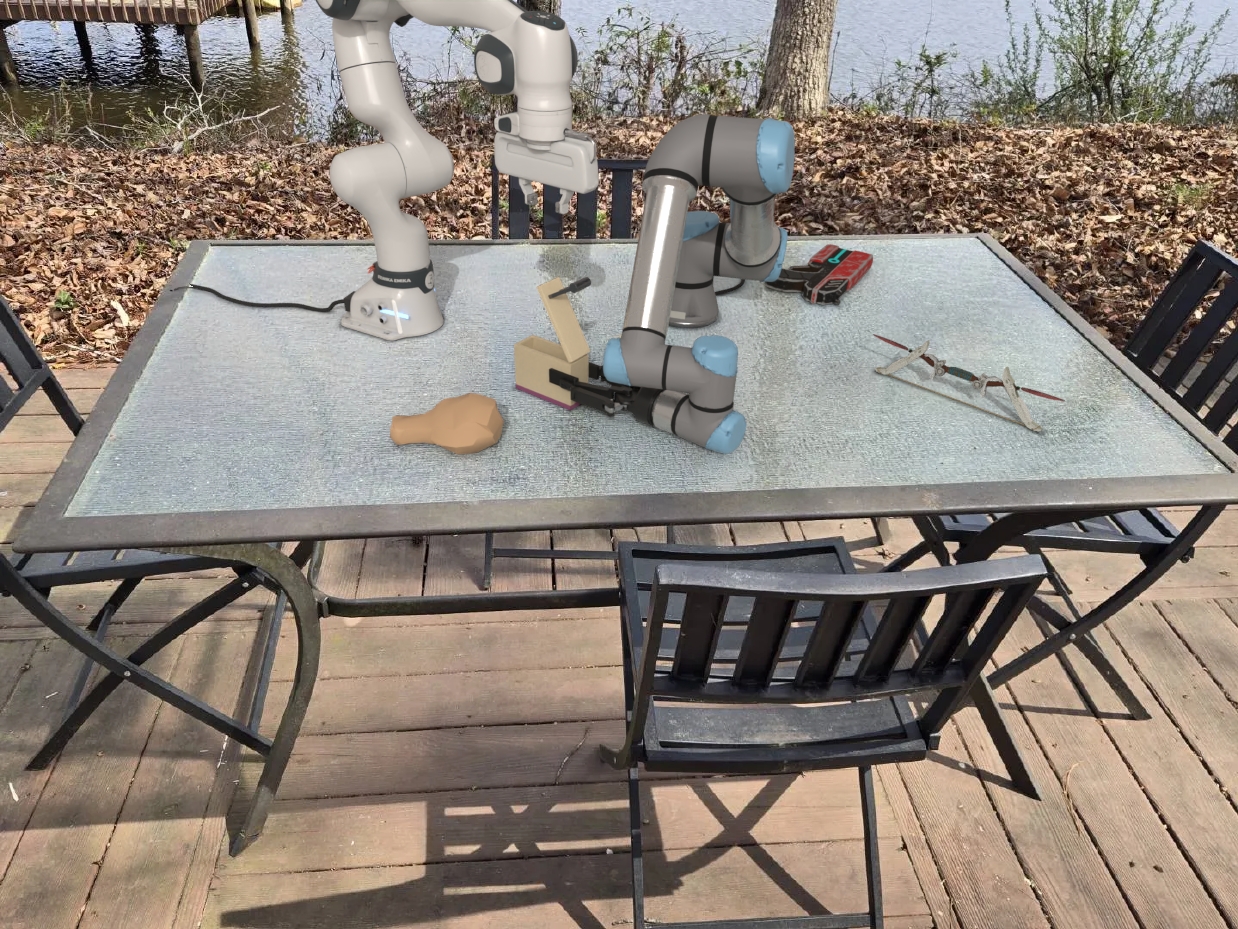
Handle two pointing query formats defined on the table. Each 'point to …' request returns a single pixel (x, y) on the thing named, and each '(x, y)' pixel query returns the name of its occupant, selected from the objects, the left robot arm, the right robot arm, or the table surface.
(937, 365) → the bow
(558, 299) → the lid
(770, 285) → the gun
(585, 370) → the chest
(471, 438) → the squash
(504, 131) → the left robot arm
